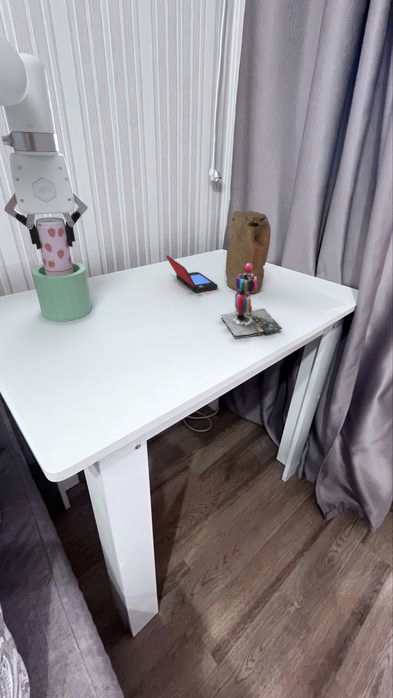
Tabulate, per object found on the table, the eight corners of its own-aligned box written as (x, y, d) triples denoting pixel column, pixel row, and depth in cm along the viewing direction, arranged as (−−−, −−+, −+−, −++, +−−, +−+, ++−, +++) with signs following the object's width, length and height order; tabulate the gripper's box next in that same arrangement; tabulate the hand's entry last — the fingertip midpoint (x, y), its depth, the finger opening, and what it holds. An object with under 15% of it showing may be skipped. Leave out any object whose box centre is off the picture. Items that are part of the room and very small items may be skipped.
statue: (235, 343, 70) (234, 277, 61) (220, 322, 77) (218, 260, 69) (282, 333, 72) (288, 267, 63) (263, 313, 79) (267, 252, 71)
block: (221, 283, 95) (228, 209, 85) (242, 279, 99) (251, 208, 88) (244, 297, 88) (254, 218, 77) (266, 292, 91) (278, 216, 80)
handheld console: (219, 289, 91) (221, 263, 87) (183, 295, 87) (184, 268, 83) (198, 274, 101) (199, 250, 97) (165, 279, 96) (165, 254, 92)
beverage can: (54, 297, 71) (39, 224, 63) (45, 288, 75) (30, 218, 67) (80, 291, 74) (69, 221, 66) (70, 283, 78) (58, 215, 70)
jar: (43, 324, 71) (32, 280, 66) (41, 304, 79) (31, 263, 74) (94, 317, 75) (88, 274, 70) (87, 298, 83) (81, 259, 78)
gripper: (-22, 143, 53) (8, 255, 63) (88, 147, 60) (99, 248, 69) (-18, 142, 59) (9, 244, 69) (82, 145, 65) (94, 239, 75)
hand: (54, 245), depth 69 cm, fingers closed on beverage can, 5 cm apart
